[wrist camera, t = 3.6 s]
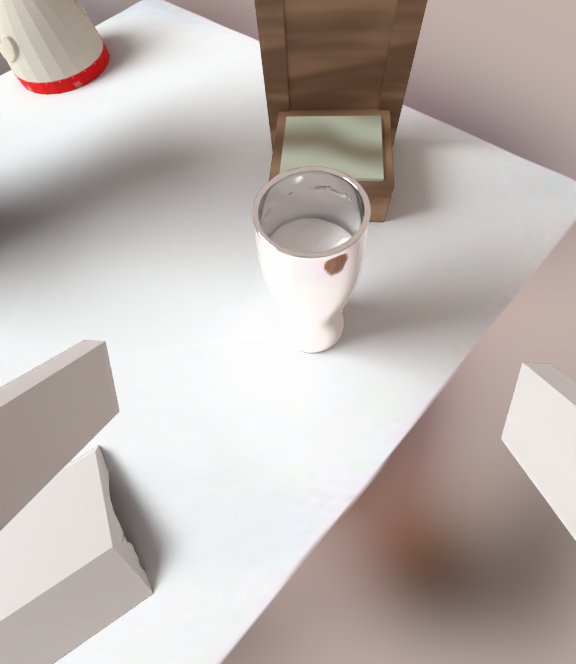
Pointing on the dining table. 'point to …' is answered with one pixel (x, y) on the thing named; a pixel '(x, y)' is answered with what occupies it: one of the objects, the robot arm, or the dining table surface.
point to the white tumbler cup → (311, 250)
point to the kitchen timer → (51, 44)
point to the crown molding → (65, 567)
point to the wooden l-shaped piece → (338, 85)
